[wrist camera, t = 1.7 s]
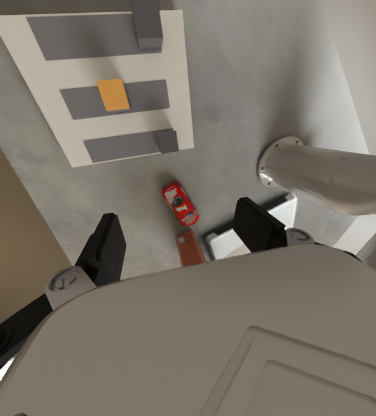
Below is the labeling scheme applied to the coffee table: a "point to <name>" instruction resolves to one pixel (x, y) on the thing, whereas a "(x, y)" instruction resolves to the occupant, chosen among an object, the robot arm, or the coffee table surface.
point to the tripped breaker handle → (114, 95)
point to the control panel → (189, 249)
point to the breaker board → (105, 70)
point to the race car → (180, 203)
